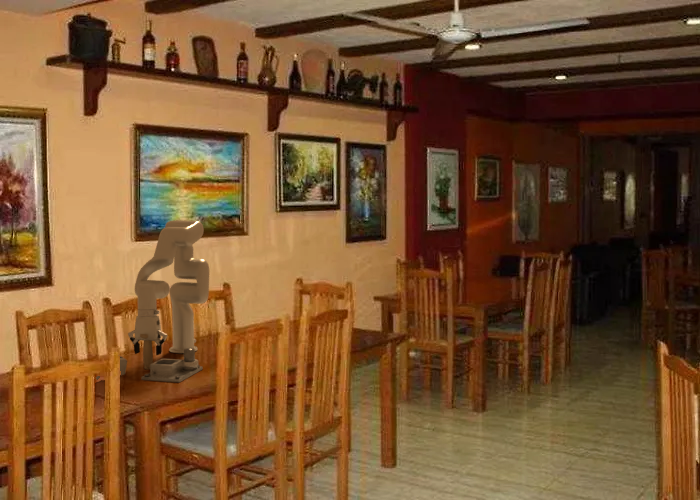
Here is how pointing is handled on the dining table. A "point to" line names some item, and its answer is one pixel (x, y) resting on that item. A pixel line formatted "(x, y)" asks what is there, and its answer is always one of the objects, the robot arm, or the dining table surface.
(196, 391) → the dining table surface
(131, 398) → the dining table surface
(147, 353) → the handle
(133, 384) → the dining table surface
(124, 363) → the hinge
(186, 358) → the fitting
